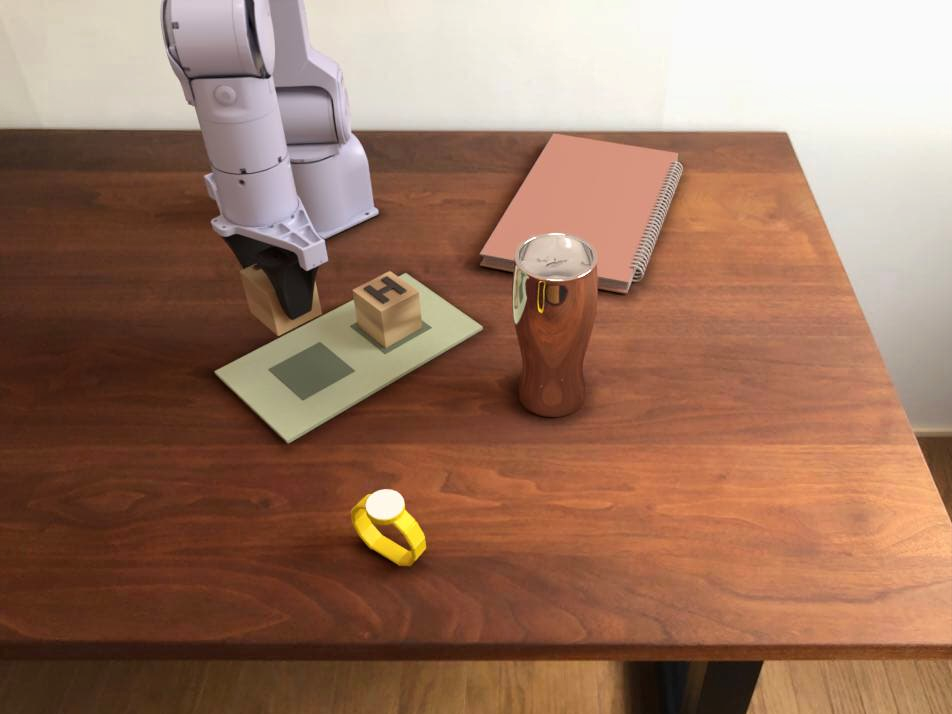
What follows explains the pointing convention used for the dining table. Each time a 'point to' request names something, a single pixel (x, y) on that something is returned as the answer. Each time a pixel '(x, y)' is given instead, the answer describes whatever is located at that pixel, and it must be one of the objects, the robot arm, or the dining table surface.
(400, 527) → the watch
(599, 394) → the dining table surface
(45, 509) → the dining table surface
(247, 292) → the block
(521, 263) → the beer glass
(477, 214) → the dining table surface
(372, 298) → the block
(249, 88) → the robot arm
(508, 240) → the notebook
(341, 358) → the word mat
